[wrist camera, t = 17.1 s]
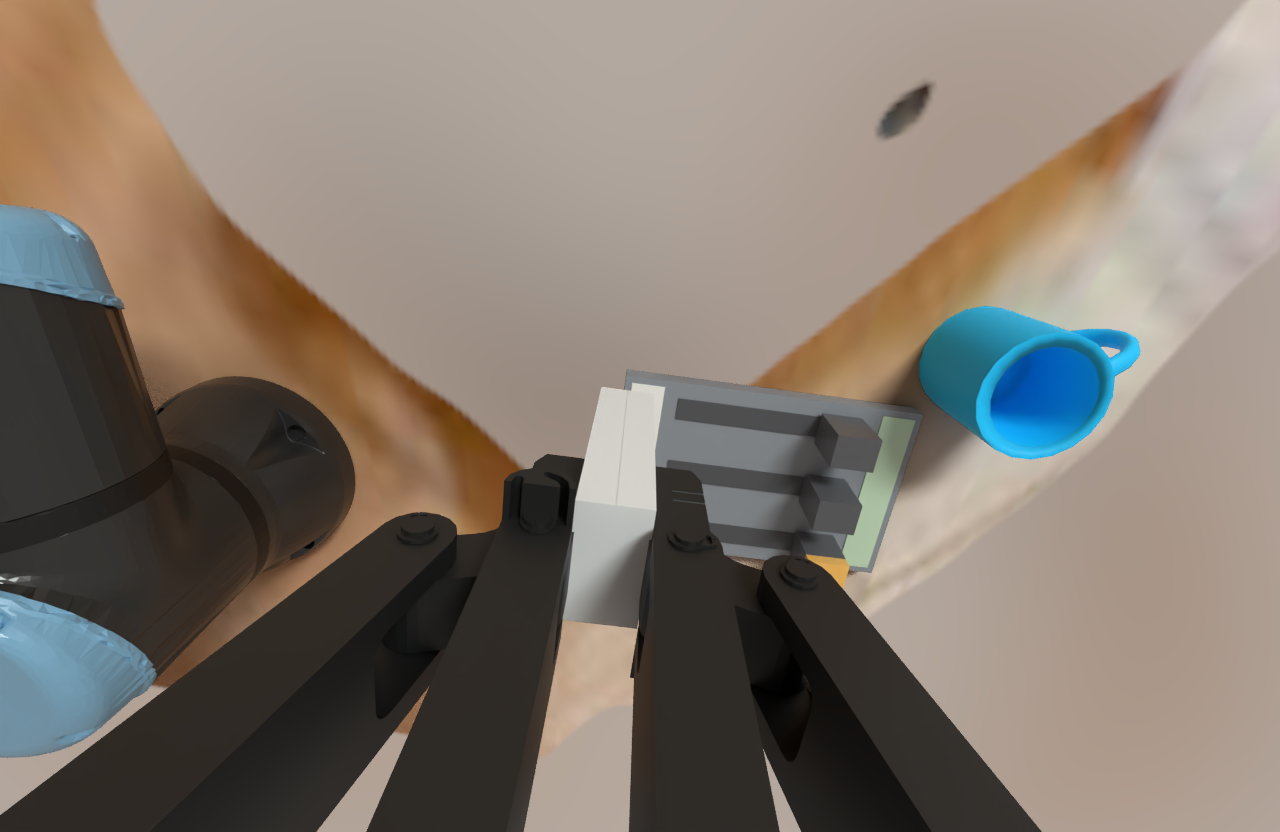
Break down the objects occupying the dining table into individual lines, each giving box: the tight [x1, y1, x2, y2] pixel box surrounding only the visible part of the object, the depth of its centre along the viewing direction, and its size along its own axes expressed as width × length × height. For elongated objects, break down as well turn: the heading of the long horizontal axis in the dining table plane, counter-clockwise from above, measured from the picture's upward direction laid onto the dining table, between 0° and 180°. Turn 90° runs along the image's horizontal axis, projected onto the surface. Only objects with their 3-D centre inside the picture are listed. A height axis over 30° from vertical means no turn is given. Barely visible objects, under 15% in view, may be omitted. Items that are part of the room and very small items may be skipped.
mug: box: [919, 306, 1140, 459], centre depth 39 cm, size 12×8×8 cm
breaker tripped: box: [790, 531, 850, 589], centre depth 45 cm, size 3×2×4 cm
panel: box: [624, 370, 923, 573], centre depth 46 cm, size 22×14×2 cm, turn 82°
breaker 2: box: [799, 474, 863, 535], centre depth 44 cm, size 3×2×4 cm
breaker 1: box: [814, 413, 883, 473], centre depth 42 cm, size 3×2×4 cm
